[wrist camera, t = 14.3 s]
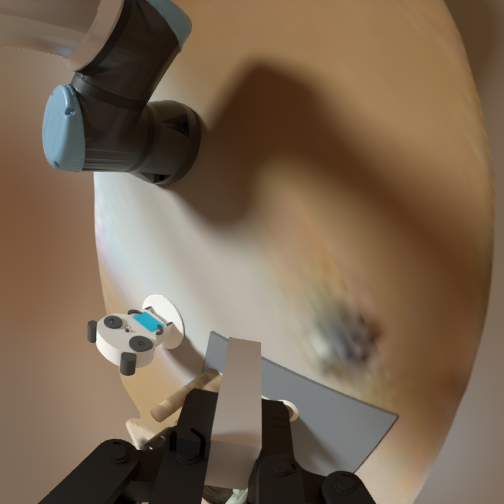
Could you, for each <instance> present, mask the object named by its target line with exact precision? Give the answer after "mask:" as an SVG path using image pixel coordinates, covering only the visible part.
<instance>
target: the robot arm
mask: <svg viewBox="0 0 504 504" xmlns="http://www.w3.org/2000/svg"><path fill="white" fill-rule="evenodd" d="M191 30H192V22H191V20H190V18H189V17H188V15H187V14H186V13H185V12H184V11H183V10H182V9H181V8H180V7H179V6H177V5H176V4H175V3H173V2H172V1H171V0H0V46H9V47H16V48H22V49H28V50H34V51H39V52H45V53H50V54H55V55H59V56H62V57H63V60H64V62H65V65H66V67H67V69H68V70H70V71H74V72H76V73H75V75H74V77H73V79H72V81H71V83H70V84H63V85H59V86H58V87H56V88H55V89H54V92H53V93H52V94H51V95H50V98H49V100H48V103H47V106H46V109H45V113H44V119H43V130H42V132H43V133H42V137H43V148H44V152H45V156H46V158H47V160H48V162H49V163H50V164H51V166H52V167H54V168H55V169H58V170H66V171H74V172H80V171H93V172H128V173H130V174H132V175H134V176H136V177H138V178H140V179H142V180H144V181H146V182H148V183H152V184H170V183H173V182H175V181H177V180H179V179H180V178H181V177H182V176H183V175H184V174H185V173H186V172H187V171H188V170H189V168H190V167H191V165H192V164H193V162H194V160H195V157H196V155H197V152H198V148H199V143H200V128H199V123H198V120H197V117H196V115H195V114H194V112H193V111H192V110H191V109H190V108H189V107H188V106H186V105H185V104H182V103H179V102H176V101H172V100H162V101H153V102H148V101H149V99H150V97H151V96H152V94H153V92H154V91H155V89H156V87H157V85H158V84H159V82H160V81H161V79H162V77H163V76H164V74H165V73H166V71H167V69H168V68H169V66H170V65H171V63H172V62H173V60H174V59H175V57H176V56H177V54H178V53H180V52H181V49H182V47H183V44H184V43H185V41H186V39H187V38H188V36H189V35H190V33H191ZM290 428H291V425H290V417H289V410H288V408H287V407H286V405H285V404H284V402H283V401H276V400H268V399H261V342H255V341H249V340H243V339H237V338H232V337H229V341H228V347H227V352H226V358H225V363H224V368H223V374H222V379H221V384H220V390H219V393H218V392H213V391H208V390H203V389H198V388H193V389H192V390H191V391H190V392H189V393H188V394H187V395H186V398H185V401H184V404H183V407H182V410H181V413H180V416H179V419H178V422H177V425H175V426H174V427H172V428H170V429H169V430H168V431H167V433H166V434H165V447H163V448H161V449H157V450H137V449H136V448H135V446H133V445H132V444H131V443H129V442H127V441H124V440H122V439H110V440H106V441H104V442H103V443H101V444H100V445H99V446H98V447H97V448H96V449H95V450H94V451H93V452H92V453H91V454H90V455H89V456H88V457H87V458H85V459H84V460H83V461H82V462H81V463H80V464H79V466H77V467H76V468H75V469H74V470H73V471H72V472H71V473H70V474H69V475H68V476H67V477H66V478H65V479H64V480H63V481H62V482H61V483H59V484H58V485H57V486H56V487H55V488H54V489H53V490H52V491H51V492H50V493H49V494H48V495H47V496H46V497H45V498H43V500H42V501H40V502H39V503H38V504H141V503H142V502H149V504H201V501H202V495H203V489H204V484H205V485H211V486H217V487H223V488H231V489H239V490H246V489H247V486H248V494H247V498H246V500H245V502H244V504H376V503H375V501H374V500H373V498H372V497H371V495H370V493H369V492H368V490H367V489H366V487H365V485H364V484H363V482H362V480H361V479H360V478H359V477H358V476H357V475H355V474H353V473H351V472H348V471H344V470H343V471H335V472H332V473H330V474H329V475H328V476H323V475H319V474H315V473H312V472H309V471H307V470H305V469H303V468H302V467H301V466H300V465H299V463H298V462H297V461H296V460H295V457H294V451H293V442H292V434H291V429H290Z"/></svg>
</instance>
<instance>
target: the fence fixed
mask: <svg viewBox="0 0 504 504" xmlns="http://www.w3.org/2000/svg"><path fill="white" fill-rule="evenodd" d="M221 379H222V376H221V375H219V374H218V373H217V371H216V370H214V369H213V368H209V369H208V370H206V371H205V372H204V373H202V374H201V375H200V376H198V377H197V378H195V379H194V380H193V381H191V382H190V383H189V384H187V385H186V386H184V387H183V388H182V389H180V390H179V391H177V392H176V393H174V394H173V395H172V396H170V397H169V398H167V399H166V400H164V401H163V402H161V403H160V404H159V405H157V406H156V407H154V408H153V409H151V411H150V412H151V415H152V417H153V418H154V419H155V420H156V421H158V422H162V421H163V420H165V419H166V418H167V417H169V416H170V415H171V414H173V413H174V412H175V411H177V410H178V409H179V408H181V407H182V406H183V404H184V401H185V398H186V395H187V394H188V393H189V392H190V391H191V390H192V389H193V388H198V389H203V390H208V391H213V392H218V393H219V390H220V384H221ZM261 399H263V398H261ZM286 407H287V408H288V410H289V417H290V419H291V417H292V416H293V409H292V408H291V407H290V406H288V405H286ZM177 422H178V420H177V421H175V425H177Z"/></svg>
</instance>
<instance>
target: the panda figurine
mask: <svg viewBox="0 0 504 504" xmlns="http://www.w3.org/2000/svg"><path fill="white" fill-rule="evenodd" d="M183 338H184V324H183V321H182V318H181V315H180V313H179V311H178V309H177V308H176V306H175V305H174V304H173V303H172V302H171V301H170V300H169V299H168V298H166V297H164V296H162V295H158V294H155V295H151V296H149V297H148V298H147V299H146V300H145V301H144V304H143V307H142V310H140V311H138V310H129V311H128V315H127V314H111V315H108V316H106V317H104V318H103V319H101V320H100V321H99V322H98V323H97V322H96V321H89V322H88V340H89V341H90V342H91V343H95V342H96V344H97V347H98V349H99V351H100V352H101V353H102V354H103V355H104V356H105V357H106V358H107V359H108V360H109V361H111V362H112V363H114V364H115V365H118V366H120V372H121V374H123V375H126V376H130V375H133V374H134V373H135V368H139V367H144V366H146V365H148V364H150V363H151V362H152V360H153V357H154V351H155V347H157V346H158V345H159V346H161V347H163V348H166V349H174V348H176V347H178V346H179V345H180V344H181V343H182V341H183Z"/></svg>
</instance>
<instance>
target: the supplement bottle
mask: <svg viewBox="0 0 504 504" xmlns="http://www.w3.org/2000/svg"><path fill="white" fill-rule="evenodd" d="M170 428H172V427H167V428H165V429H164V430H162V431H161V432H160V433H158V434H157V435H155V436H154V437H153V438H151V439H150V440H148V441H147V442H146V443H144V445H143V450H157V449H161V448H163V447H165V434H166V433H167V431H168V430H169V429H170Z"/></svg>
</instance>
